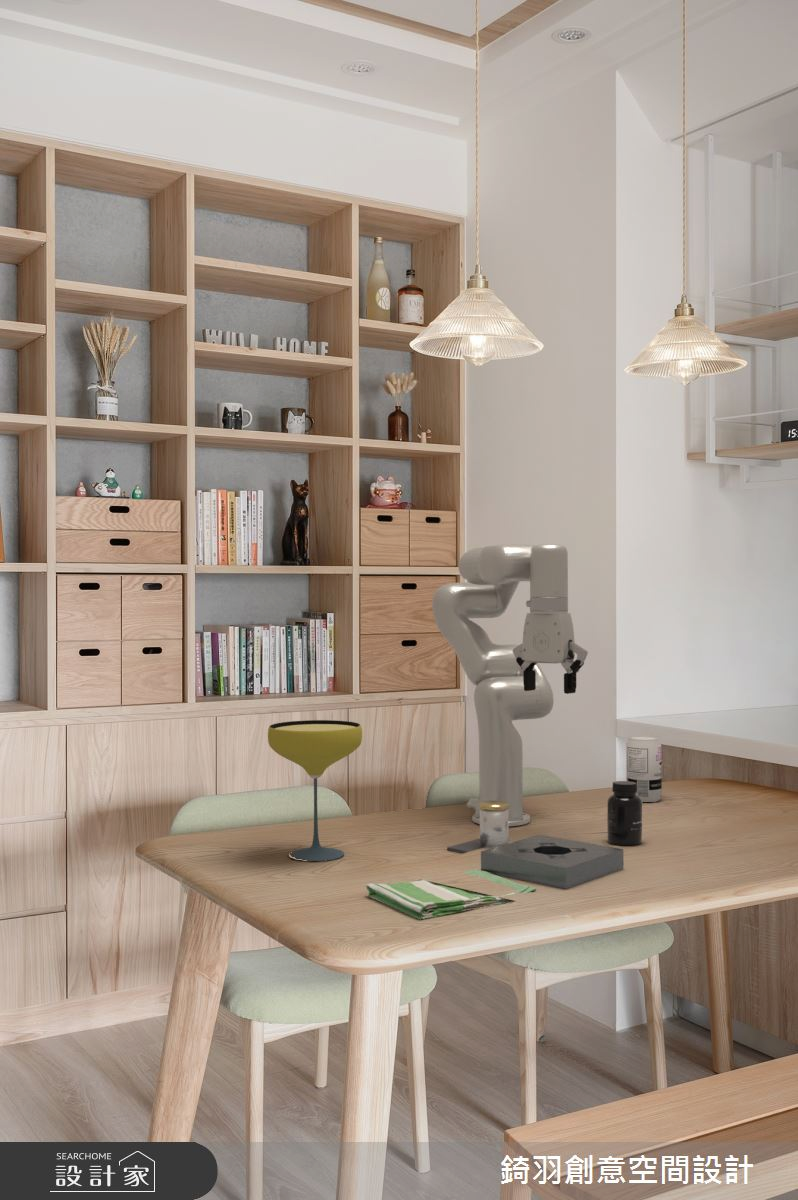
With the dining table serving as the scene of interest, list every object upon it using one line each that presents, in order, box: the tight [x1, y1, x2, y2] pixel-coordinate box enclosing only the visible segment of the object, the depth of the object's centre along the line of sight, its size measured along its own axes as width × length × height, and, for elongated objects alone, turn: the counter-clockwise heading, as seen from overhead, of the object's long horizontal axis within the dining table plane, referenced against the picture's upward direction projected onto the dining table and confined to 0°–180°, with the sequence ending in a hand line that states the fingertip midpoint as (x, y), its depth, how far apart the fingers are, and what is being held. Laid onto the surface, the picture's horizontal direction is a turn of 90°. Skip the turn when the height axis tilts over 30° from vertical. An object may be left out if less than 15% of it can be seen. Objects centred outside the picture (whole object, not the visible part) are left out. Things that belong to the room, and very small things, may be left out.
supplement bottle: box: [606, 780, 643, 847], centre depth 223 cm, size 7×7×12 cm
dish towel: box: [365, 869, 537, 921], centre depth 185 cm, size 18×23×3 cm
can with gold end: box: [479, 801, 510, 849], centre depth 218 cm, size 6×6×8 cm
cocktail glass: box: [267, 719, 363, 862], centre depth 214 cm, size 18×18×25 cm
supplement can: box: [625, 735, 663, 803], centre depth 268 cm, size 8×8×15 cm
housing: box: [480, 834, 624, 890], centre depth 198 cm, size 18×18×4 cm
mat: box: [446, 838, 482, 854], centre depth 218 cm, size 13×13×1 cm
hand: (549, 691), depth 223 cm, fingers open, 9 cm apart
